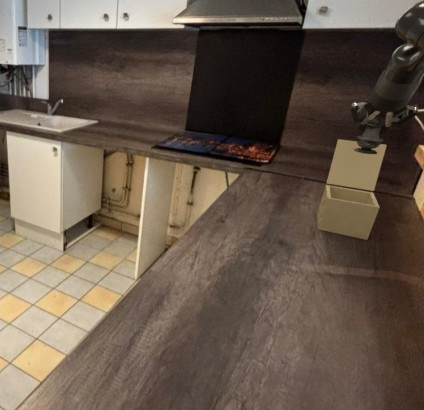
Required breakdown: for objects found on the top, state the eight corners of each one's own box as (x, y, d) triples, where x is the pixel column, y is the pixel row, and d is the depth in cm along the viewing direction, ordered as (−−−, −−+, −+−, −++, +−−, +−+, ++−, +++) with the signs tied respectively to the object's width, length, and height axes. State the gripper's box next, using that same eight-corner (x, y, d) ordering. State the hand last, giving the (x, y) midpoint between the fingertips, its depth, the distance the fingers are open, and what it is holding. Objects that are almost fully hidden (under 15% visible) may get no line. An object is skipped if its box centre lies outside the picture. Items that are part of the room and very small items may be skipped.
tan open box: (367, 240, 99) (379, 207, 95) (317, 229, 104) (327, 198, 100) (362, 222, 109) (373, 192, 105) (317, 213, 114) (326, 184, 110)
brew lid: (386, 144, 103) (382, 147, 107) (338, 139, 108) (336, 141, 112) (374, 190, 104) (370, 191, 108) (326, 183, 110) (324, 184, 114)
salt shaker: (356, 153, 96) (371, 107, 91) (349, 148, 101) (363, 104, 96) (382, 155, 94) (399, 108, 89) (374, 150, 99) (389, 105, 94)
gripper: (437, 75, 80) (405, 122, 95) (360, 72, 87) (342, 116, 101) (434, 102, 78) (402, 145, 93) (356, 97, 85) (337, 138, 99)
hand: (371, 130), depth 97 cm, fingers closed on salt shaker, 3 cm apart
